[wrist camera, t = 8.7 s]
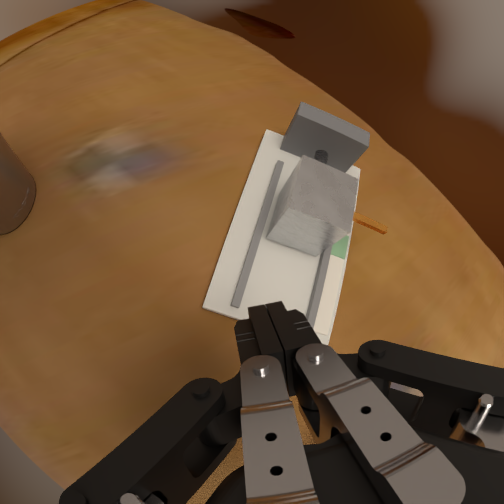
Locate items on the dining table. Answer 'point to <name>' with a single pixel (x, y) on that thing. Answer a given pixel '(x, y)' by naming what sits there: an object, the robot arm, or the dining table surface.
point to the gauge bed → (273, 253)
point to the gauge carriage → (316, 207)
